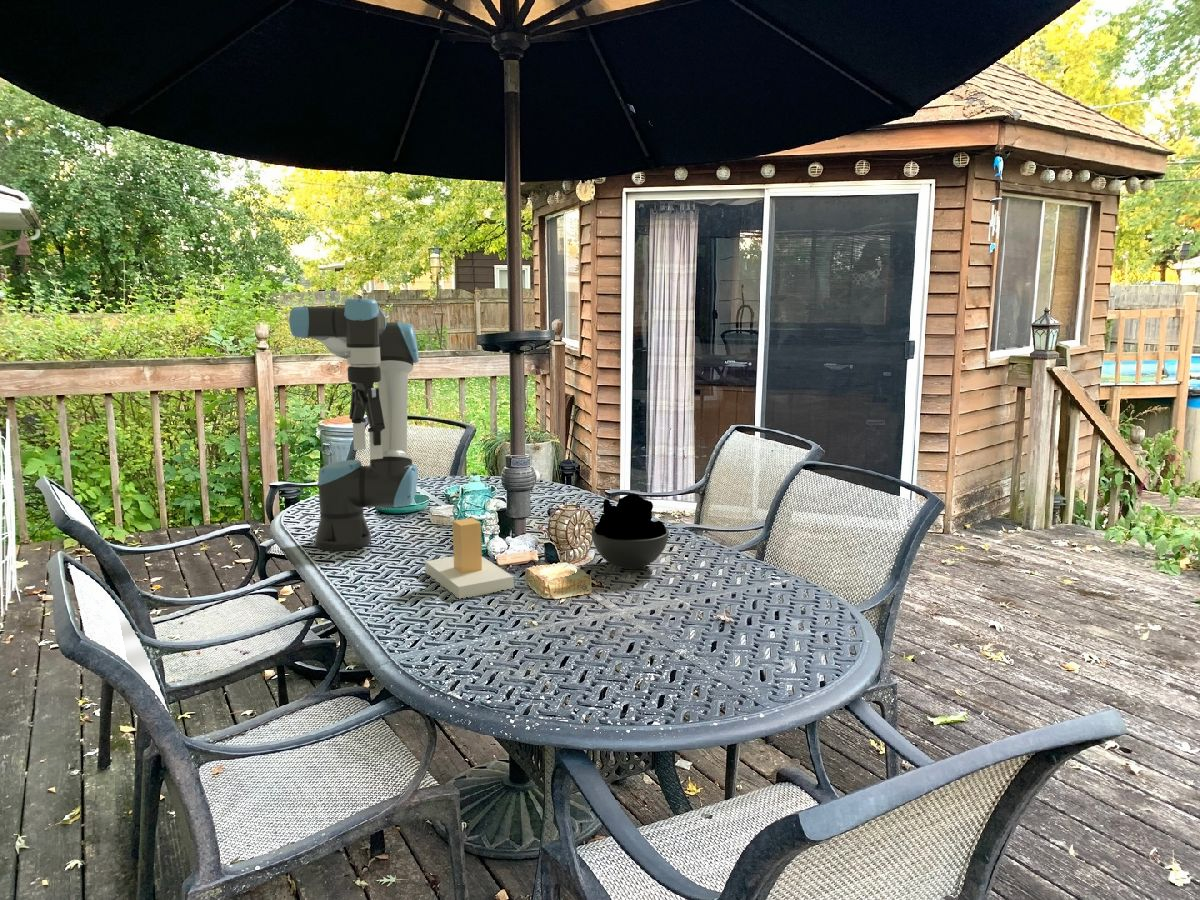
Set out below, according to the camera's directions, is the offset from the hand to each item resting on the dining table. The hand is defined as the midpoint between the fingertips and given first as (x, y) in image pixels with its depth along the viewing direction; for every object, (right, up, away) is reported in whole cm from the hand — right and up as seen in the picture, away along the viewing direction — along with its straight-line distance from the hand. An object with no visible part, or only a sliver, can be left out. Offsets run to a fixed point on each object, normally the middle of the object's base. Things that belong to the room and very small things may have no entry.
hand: (367, 454), depth 198 cm
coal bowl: (+63, -30, +17) cm, 72 cm away
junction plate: (+23, -31, +6) cm, 39 cm away
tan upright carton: (+23, -28, +6) cm, 37 cm away
